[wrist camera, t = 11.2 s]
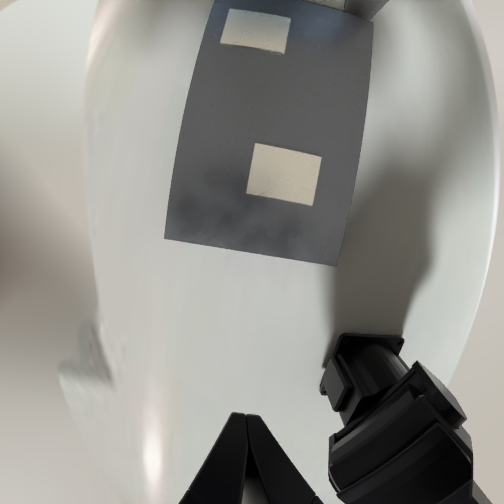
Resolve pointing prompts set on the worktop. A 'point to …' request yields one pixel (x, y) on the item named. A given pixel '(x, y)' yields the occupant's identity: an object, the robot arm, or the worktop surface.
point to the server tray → (272, 130)
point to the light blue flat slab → (364, 7)
